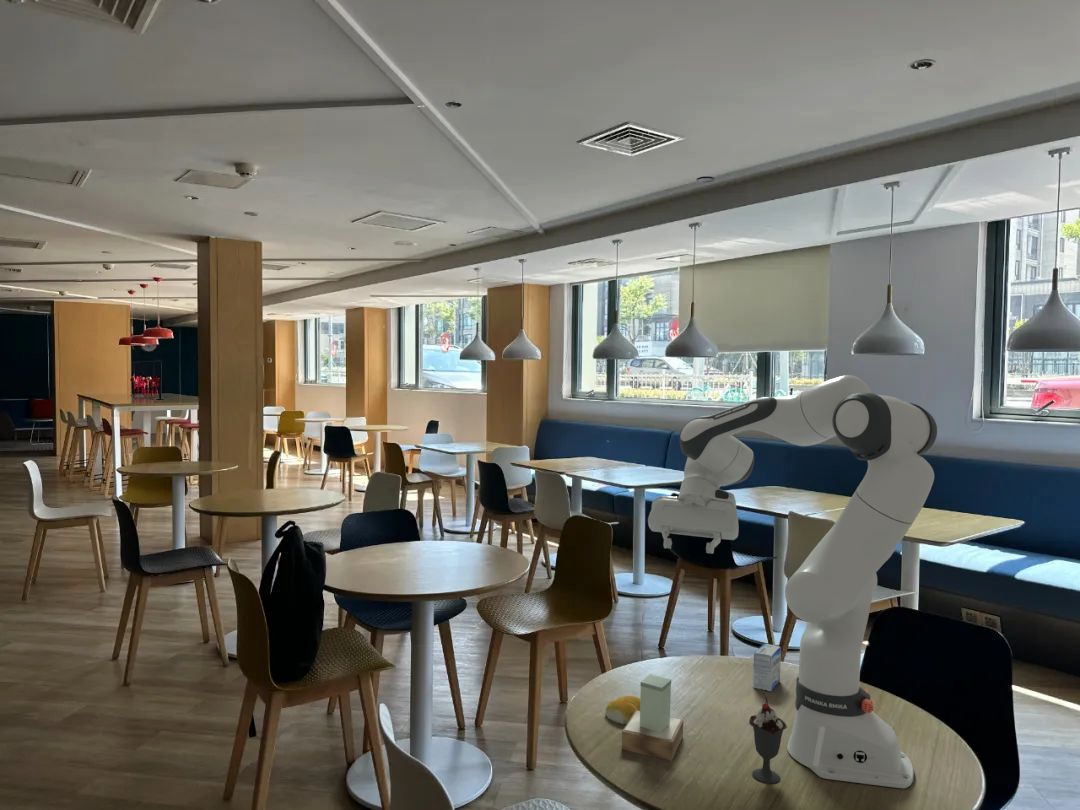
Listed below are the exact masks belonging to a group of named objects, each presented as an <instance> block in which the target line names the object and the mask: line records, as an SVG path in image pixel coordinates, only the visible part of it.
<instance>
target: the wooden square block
mask: <svg viewBox="0 0 1080 810" xmlns="http://www.w3.org/2000/svg"><path fill="white" fill-rule="evenodd" d="M683 738H684V719H680V718H674V717H671V716H670V724H669V725H668V726H667V727H666V728H665V729H664V730H663V731H662V732H661V733H659V732H656V731H653V730H649V729H646V728H643V727H640V711H635V712H634V714H633V715H632V717H631V719H630V720H629V722H628V723H627V724H626V725H625V726H624V728H623V729H622V733H621V750H623V751H628V752H632V753H637V754H640V755H645V756H650V757H654V758H659V759H663V760H666V759H667V761H671V760H672V761H673V759H674V758H673V757H675V755H676V753H677V752H678V749H679V747H678V746H680V745H679V744H681V743H680V742H682V741H681V740H683ZM677 748H678V749H677Z"/></svg>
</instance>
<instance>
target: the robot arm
mask: <svg viewBox="0 0 1080 810" xmlns="http://www.w3.org/2000/svg"><path fill="white" fill-rule="evenodd" d="M745 431H757V432H761V433H764V434H767V435H770V436H772V437H776V438H778V439H780V440H783V441H785V442H786V443H789V444H792V445H796V446H799V447H809V446H815V445H818V444H822V443H824V442H826V441H828V440H831V439H833V438H835V437H837V438H838V439H839V440H840V442H842V444H843V445H844V446H846V447H847V448H848V449H849V450H850V452H851V453H852V455H853V456H854V457H855V458H856V459H857V460H859V461H865V462H866V461H867V470H866V473H865V475H864V476H863V479H862V480H861V482H860V483H859V485H858V486H857V487H856V489H855V491H854V492H853V494H852V496H851V498H850V499H849V501H848V502H847V503H846V506H845V507H844V509H843V510H842V512H841V513H840V515H839V516H838V517H837V519H836V521H835V523H834V524H833V525H832V526H831V528H830V529H829V531H827V533H825V535H824V536H823V537H822V538H821V540H820V541H819V542H818V543H817V544H816V546H815V547H814V548H813V549H812V550H811V551H810V553H809V554H808V556H807V557H806V558H805V560H804V561H803V562H802V563H801V565H800V566H799V568H798V569H797V570H796V571H795V572H794V573H793V574H792V575H791V576H790V577H789V578H788V580H787V581H786V584H785V588H784V598H785V601H786V604H787V606H788V608H789V609H790V611H791V612H792V614H794V615H795V617H797V618H798V619H800V620H802V621H803V622H806V626H805V629H804V632H803V633H802V635H801V638H800V640H799V641H800V642H799V658H798V659H799V664H798V677H796V682H795V685H794V686H795V688H794V692H795V693H794V708H795V715H794V721H793V726H792V730H791V734H790V737H789V739H788V743H787V745H786V749H787V752H788V754H789V755H790V756H791V757H792V758H793V759H794V760H795V761H797V762H798V763H800V764H801V765H803V766H806V767H807V768H808V769H810V770H811V771H812V772H814V774H815V775H817V776H818V777H819V778H822V779H826V780H833V781H841V782H842V781H843V782H849V783H859V784H863V785H870V786H871V785H873V786H880V787H887V788H895V789H907V788H908V787H910V786H911V785H912V784H913V782H914V778H915V777H914V776H915V775H914V767H913V764H912V761H911V759H910V758H909V757H908V755H907V754H906V753H904V752H903V751H902V750H901V745H900V742H899V739H898V737H897V734H896V732H895V730H894V728H892V727H891V725H889V724H888V723H887V722H885V721H884V720H883V719H882V718H881V717H880V716H878V715H877V714H876V713H875V712H874V702H873V701H872V700H871V695H870V694H869V691H868V689H867V688H866V687H865V690H864V689H863V688H862V687H861V686H860V677H861V676H860V675H861V658H862V657H861V656H862V650H863V649H862V647H863V641H864V636H865V633H866V628H867V625H868V620H869V616H870V610H871V605H872V599H873V597H874V594H875V592H876V589H877V586H878V575H877V572H878V571H879V570H880V569H881V567H882V566H884V564H885V563H886V562H888V560H889V559H890V558H891V557H892V555H893V554H894V552H895V551H896V550H897V548H898V546H899V545H900V543H902V542H901V541H902V540H903V538H904V537H905V536H906V534H907V533H908V532H909V530H910V528H911V527H912V525H913V523H914V522H915V520H916V519H917V517H918V516H919V514H920V512H921V510H922V509H923V507H924V505H925V503H926V501H927V499H928V496H929V494H930V492H931V489H932V486H933V484H934V481H935V472H934V469H933V467H932V466H931V464H930V463H929V462H928V461H927V460H926V459H925V458H924V457H923V456H922V455H924V454H925V453H927V452H928V451H929V450H931V448H932V447H933V445H934V444H935V442H936V440H937V437H938V425H937V422H936V420H935V418H934V417H933V416H932V414H931V413H930V412H929V411H928V410H927V409H925V408H923V407H922V406H919V405H918V404H915V403H912V402H907V401H905V400H901V399H900V398H897V397H895V396H891V395H884V394H883V395H882V394H875V393H872V391H871V389H870V387H869V386H868V385H867V384H866V382H865V381H864V380H862V379H860V377H857V376H855V375H850V374H844V375H840V376H837V377H833V378H830V379H827V380H825V381H822V382H819V383H817V384H815V385H813V386H810V387H809V388H807V389H805V390H803V391H801V392H799V393H798V392H797V393H796V394H795V393H794V394H791V395H786V396H776V397H775V396H762V397H758V398H755V399H751V400H749V401H746V402H743V403H741V404H737V405H735V406H733V407H729V408H727V409H725V410H722V411H719V412H716V413H713V414H709V415H702V416H698V417H695V418H692V419H691V420H689V421H688V422H686V424H685V425H684V426H683V428H681V431H680V432H679V445H680V451H681V453H682V455H684V456H685V457H687V458H686V462H685V466H684V470H683V474H684V475H683V476H684V478H683V479H682V482H681V485H680V489H679V493H678V496H666V495H659V496H657V497H655V498H654V499H652V503H651V509H650V512H649V515H648V518H647V524H648V527H649V530H651V532H656V533H661V534H662V538H663V548H664V549H672V545H673V541H672V538H670V537H669V536H670V534H673V535H683V536H691V537H700V538H701V537H702V538H709V539H710V538H711V539H712V541H710V542H706V546H705V551H706V554H714V551H715V548H716V547H717V546H718V545H719V544H720V543H721V540H729V541H730V540H731V541H735V540H736V539H737V538H738V536H739V527H740V526H739V515H738V509H737V502H736V498H735V495H734V494H733V493H732V492H731V491H726V490H724V489H721V487H729V486H732V485H736V484H739V483H742V482H744V481H746V480H747V479H748V478H749V477H750V476H751V473H752V472H753V470H754V469H753V468H754V465H755V452H754V451H753V450H752V449H751V448H750V446H747V444H745V443H743V442H742V441H741V440H740V439H739V438H737V437H735V436H734V435H736V434H739V433H741V432H742V433H743V432H745ZM668 537H669V538H668Z"/></svg>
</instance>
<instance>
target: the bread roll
mask: <svg viewBox="0 0 1080 810" xmlns="http://www.w3.org/2000/svg"><path fill="white" fill-rule="evenodd" d="M635 711H640V697H637V696H635V695H626V696H620V697H617V698H616V699H615V700H612V701H609V703H608V704H607V705H606V707H605V715H606V717H607V718H608V719H609V720H610V721H613V723H614V722H615V723H617V724H619V723H620V724H619V725H625V724H626V725H627V723H628V722H629V720H630V719H631V717H632V715H633V714H634V712H635Z"/></svg>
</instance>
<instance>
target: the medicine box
mask: <svg viewBox="0 0 1080 810" xmlns="http://www.w3.org/2000/svg"><path fill="white" fill-rule="evenodd" d="M781 653H782V647H781V646H777V645H774V644H769V643H763V644H762V645H761V646H760V647H759V648H758V649H757V650H755V652H753V669H752V670H753V673H752V675H753V676H752V680H753V681H752V687H753V689H757V690H761V689H762V691H765V690H767V691H766V692H769V691H771V692H772V691H773V690H774V689H775V687H776V686H777V685H778V684H779V682H780V681H781V663H782V662H781V655H782V654H781Z"/></svg>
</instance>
